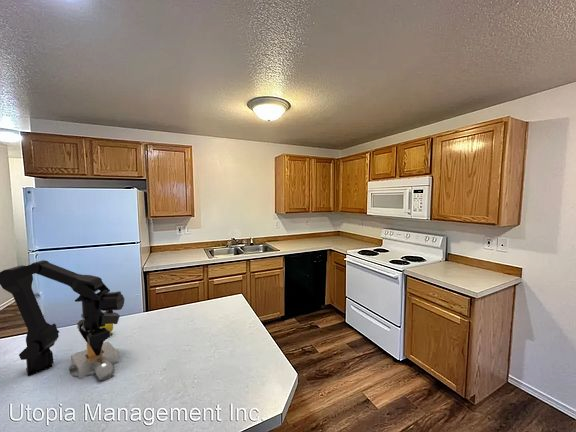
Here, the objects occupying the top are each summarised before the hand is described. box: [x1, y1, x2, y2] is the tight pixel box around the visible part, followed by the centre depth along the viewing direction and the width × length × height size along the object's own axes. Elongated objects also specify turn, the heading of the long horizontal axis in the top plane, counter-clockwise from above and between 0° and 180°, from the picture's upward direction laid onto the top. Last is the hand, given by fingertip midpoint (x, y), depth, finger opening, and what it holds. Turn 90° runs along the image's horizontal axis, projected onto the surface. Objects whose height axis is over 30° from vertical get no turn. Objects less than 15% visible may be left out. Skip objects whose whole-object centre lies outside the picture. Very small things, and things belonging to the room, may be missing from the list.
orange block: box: [86, 342, 102, 359], centre depth 96 cm, size 4×2×8 cm, turn 140°
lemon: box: [100, 324, 114, 334], centre depth 116 cm, size 6×6×8 cm
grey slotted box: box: [69, 341, 120, 381], centre depth 94 cm, size 15×22×5 cm
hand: (94, 350), depth 96 cm, fingers open, 9 cm apart
